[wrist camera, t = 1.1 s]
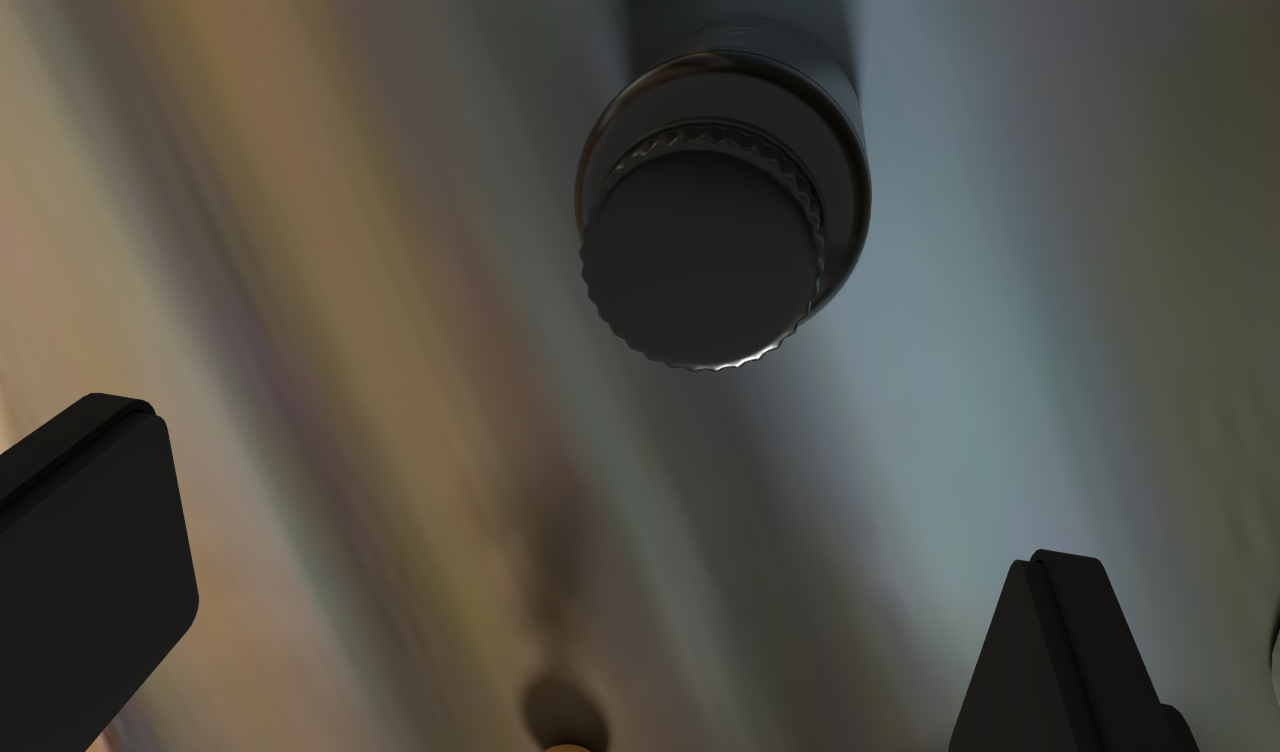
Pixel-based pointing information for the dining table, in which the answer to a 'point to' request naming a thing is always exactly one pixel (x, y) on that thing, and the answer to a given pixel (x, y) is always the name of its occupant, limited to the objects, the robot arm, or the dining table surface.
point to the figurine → (567, 748)
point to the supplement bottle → (724, 195)
